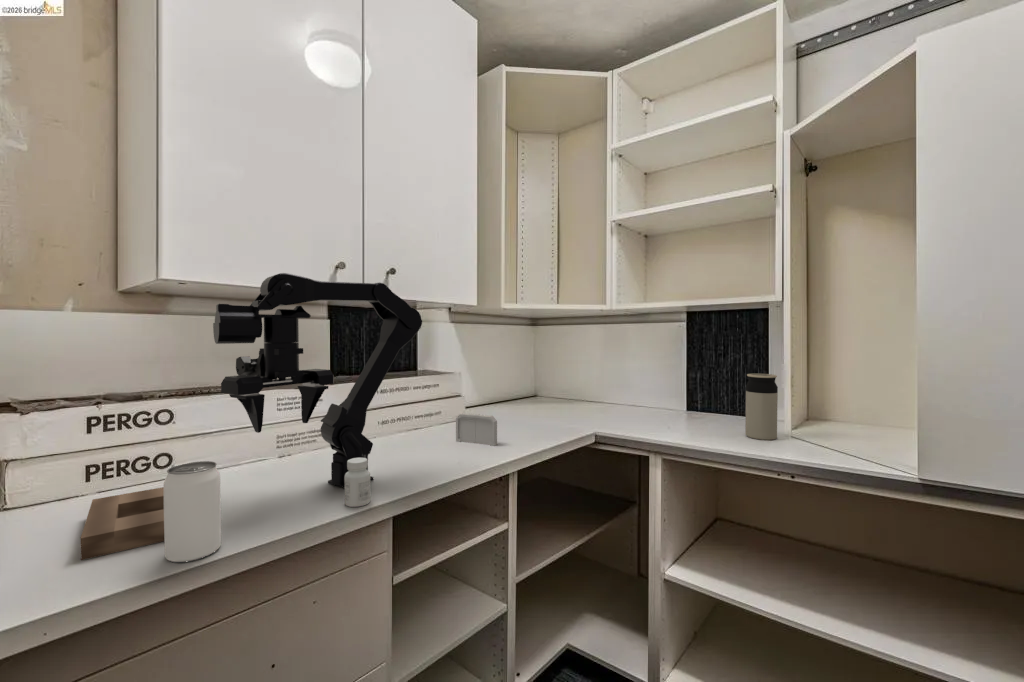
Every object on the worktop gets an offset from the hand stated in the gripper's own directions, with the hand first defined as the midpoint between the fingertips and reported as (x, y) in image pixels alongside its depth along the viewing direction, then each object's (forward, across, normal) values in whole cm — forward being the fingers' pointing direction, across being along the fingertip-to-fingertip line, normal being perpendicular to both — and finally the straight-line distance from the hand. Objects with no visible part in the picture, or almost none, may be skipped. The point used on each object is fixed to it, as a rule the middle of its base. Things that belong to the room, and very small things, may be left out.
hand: (282, 427), depth 84 cm
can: (+13, +19, +9) cm, 25 cm away
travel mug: (+13, -97, +75) cm, 124 cm away
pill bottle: (+13, -5, +14) cm, 20 cm away
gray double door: (+13, -51, +8) cm, 53 cm away
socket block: (+13, +18, -8) cm, 24 cm away
